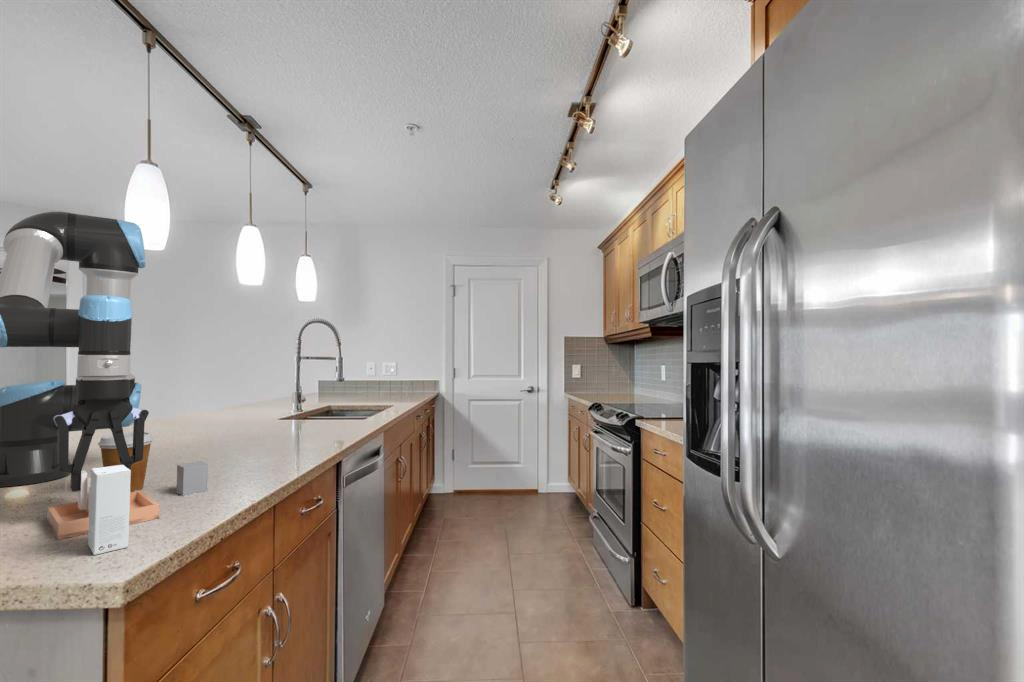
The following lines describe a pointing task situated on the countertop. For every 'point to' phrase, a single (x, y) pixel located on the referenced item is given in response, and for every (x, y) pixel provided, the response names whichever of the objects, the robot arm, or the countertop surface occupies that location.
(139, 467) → the disposable coffee cup
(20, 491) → the countertop surface
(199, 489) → the grey rectangular block
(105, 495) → the skincare box
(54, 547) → the countertop surface
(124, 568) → the countertop surface
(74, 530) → the dish
